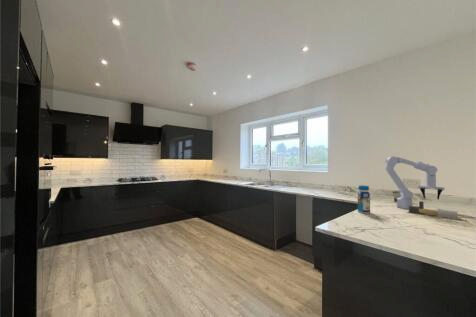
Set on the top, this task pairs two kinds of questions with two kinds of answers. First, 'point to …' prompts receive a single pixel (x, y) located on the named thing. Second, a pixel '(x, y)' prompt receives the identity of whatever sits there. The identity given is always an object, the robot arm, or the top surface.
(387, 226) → the top surface
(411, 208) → the socket
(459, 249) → the top surface
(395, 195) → the food container
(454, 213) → the sleeve
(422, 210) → the inner sliding bolt
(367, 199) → the beverage bottle
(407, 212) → the base board
